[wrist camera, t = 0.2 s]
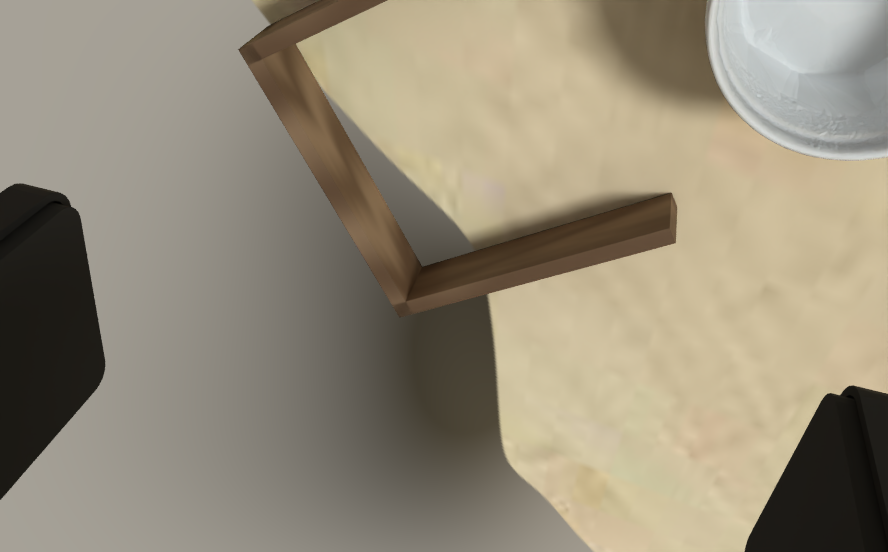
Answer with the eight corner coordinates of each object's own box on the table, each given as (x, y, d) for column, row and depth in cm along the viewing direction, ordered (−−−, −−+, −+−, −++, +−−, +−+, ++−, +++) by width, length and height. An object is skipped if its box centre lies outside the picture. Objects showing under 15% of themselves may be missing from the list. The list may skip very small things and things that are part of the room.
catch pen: (268, 26, 49) (238, 49, 46) (551, -114, 41) (539, -97, 38) (416, 282, 57) (399, 317, 54) (677, 207, 49) (675, 242, 46)
